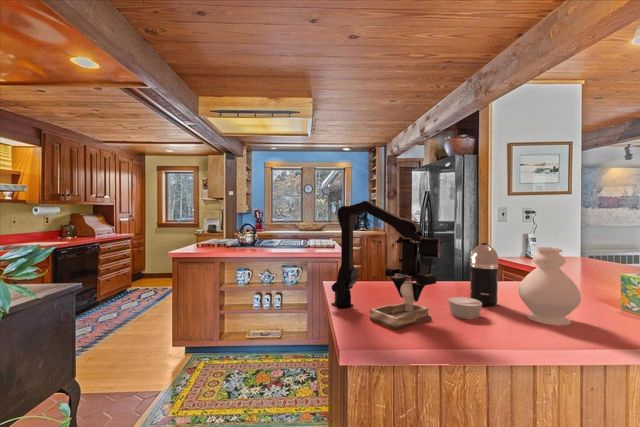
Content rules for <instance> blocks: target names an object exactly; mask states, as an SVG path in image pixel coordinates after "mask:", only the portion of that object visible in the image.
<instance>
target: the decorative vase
mask: <svg viewBox="0 0 640 427" xmlns="http://www.w3.org/2000/svg"><path fill="white" fill-rule="evenodd" d="M535 251H537V252H538V253H537V252H536V254H534V255H533V257H532V261H533V263H534V264H535V265H536V266H537V267H536V268H534V269H533V270H532V271H530V272H529V273H527V275H525V277H524V278H523V279H522V280H521V282H520V284H519V286H518V295H519V297H520V299H521V300H522V302H523V303H524V305H525V306H526V307H527V308H528V310H530V311H529V312H528V313H527V314H526V318H527V319H529V320H531V321H533V322H537V323H540V324H542V325H543V324H544V325H548V326H557V327H565V326H570V325H571V322H572V321H571V320H570V319H569V318H567V317H568V316H569V315H570V314H571V313H572V312H573V311H575V309H577V308H578V307H579V306H580V303H581V302H582V296H581V291H580V289H579V288H578V286H577V285H576V284H575V282H574V280H572V278H570V276H568V274H566V273H565V272H564V271H563V270H562V269H561V267H563V266H565V265H566V263H567V261H566V258H565V257H564V256H562V254H560V253H562V252H563V248H559V247H550V246H549V247H548V246H547V247H545V246H538V247H537V246H536V247H535Z"/></svg>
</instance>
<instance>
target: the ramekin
mask: <svg viewBox="0 0 640 427" xmlns="http://www.w3.org/2000/svg"><path fill="white" fill-rule="evenodd" d="M448 303H449V310H450V313H451V314H452V316H453V317H456V318H459V319H464V320H475V319H478V318H479V317H480V315H481V311H482V307H483V306H482V303H481V302H480V301H478V300H476V299H472V298H470V297H465V296H454V297H449V298H448Z"/></svg>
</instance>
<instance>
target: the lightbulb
mask: <svg viewBox="0 0 640 427" xmlns="http://www.w3.org/2000/svg"><path fill="white" fill-rule="evenodd" d="M412 283H415V282H413V281H409V280H407V281H405V282H404V283H403V284H402V285H401V287H400V292H401V295H402V296H403V298H402V299H404V300H403V301H404V302H403V303H405V308H406V309H405V310H406V311H407V312H411V311H413V304H415V300H414V295H413V287H412Z"/></svg>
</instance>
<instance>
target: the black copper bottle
mask: <svg viewBox="0 0 640 427" xmlns="http://www.w3.org/2000/svg"><path fill="white" fill-rule="evenodd" d="M469 263H470V264H469V265H470V292H469V293H470V294H469V295H470V297H469V298H472V299H476V300H478V301H480V302H481V303H482V307H494V306H496V305H497V304H498V293H499V292H498V291H499V290H498V284H499V283H498V281H499V280H498V275H499V273H498V272H499V271H498V269H499V255H498V252H497V251H496V250H495V249H494V248H493V247H492V246H491V245H489V243H487V242H481V243H480V244H479V245H477V246H475V247H474V248H473V250H472V251H471V252H470V262H469Z"/></svg>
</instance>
